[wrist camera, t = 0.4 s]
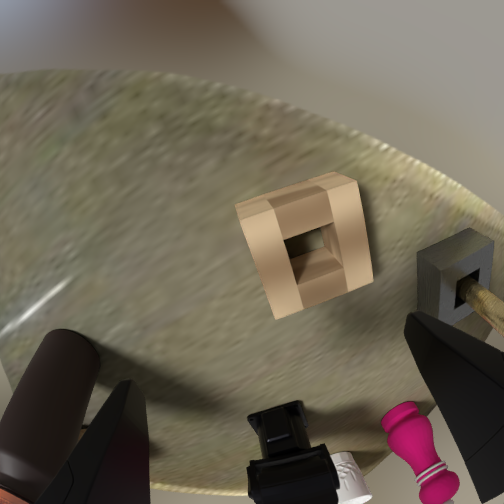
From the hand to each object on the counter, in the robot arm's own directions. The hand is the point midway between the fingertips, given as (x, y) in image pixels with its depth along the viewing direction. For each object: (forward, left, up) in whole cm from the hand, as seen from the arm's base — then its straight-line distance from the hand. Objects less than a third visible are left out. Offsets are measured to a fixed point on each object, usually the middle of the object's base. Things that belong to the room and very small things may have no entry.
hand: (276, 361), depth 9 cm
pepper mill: (-38, -13, -15) cm, 43 cm away
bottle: (-7, +21, -15) cm, 27 cm away
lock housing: (-13, -19, -15) cm, 28 cm away
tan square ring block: (-3, -4, -15) cm, 16 cm away
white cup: (-46, -1, -15) cm, 49 cm away
